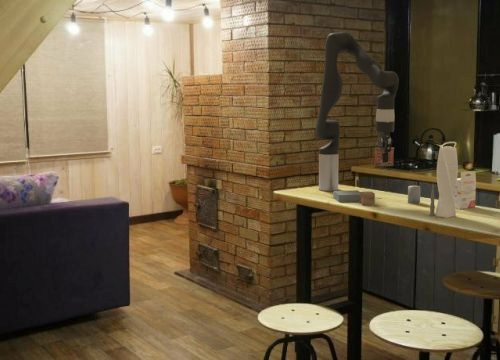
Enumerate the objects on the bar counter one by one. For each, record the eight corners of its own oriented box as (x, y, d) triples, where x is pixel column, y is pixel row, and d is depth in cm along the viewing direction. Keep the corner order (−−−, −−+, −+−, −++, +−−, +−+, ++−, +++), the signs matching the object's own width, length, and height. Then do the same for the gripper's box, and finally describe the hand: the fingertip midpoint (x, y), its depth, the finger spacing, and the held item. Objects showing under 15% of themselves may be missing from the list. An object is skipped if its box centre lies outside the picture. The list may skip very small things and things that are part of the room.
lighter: (393, 165, 258) (393, 141, 256) (394, 166, 254) (394, 142, 253) (373, 164, 258) (374, 141, 257) (374, 165, 255) (375, 142, 254)
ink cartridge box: (465, 205, 251) (467, 169, 248) (475, 207, 246) (476, 170, 244) (450, 207, 247) (451, 171, 245) (459, 209, 242) (461, 172, 240)
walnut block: (359, 203, 258) (359, 191, 257) (371, 203, 258) (371, 191, 257) (362, 205, 253) (362, 193, 252) (374, 205, 253) (374, 193, 253)
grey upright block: (406, 202, 259) (406, 185, 258) (417, 201, 260) (418, 185, 259) (410, 204, 254) (410, 187, 253) (421, 203, 255) (422, 187, 254)
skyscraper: (443, 213, 235) (445, 140, 231) (460, 217, 229) (463, 142, 225) (428, 216, 231) (430, 142, 227) (446, 219, 224) (448, 143, 220)
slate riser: (333, 197, 272) (333, 190, 272) (357, 196, 273) (357, 190, 272) (338, 201, 261) (338, 194, 261) (364, 201, 262) (364, 194, 262)
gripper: (371, 119, 260) (370, 159, 263) (381, 121, 246) (380, 164, 249) (388, 119, 261) (387, 159, 264) (399, 121, 247) (398, 163, 250)
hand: (383, 161), depth 256 cm, fingers closed on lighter, 3 cm apart
